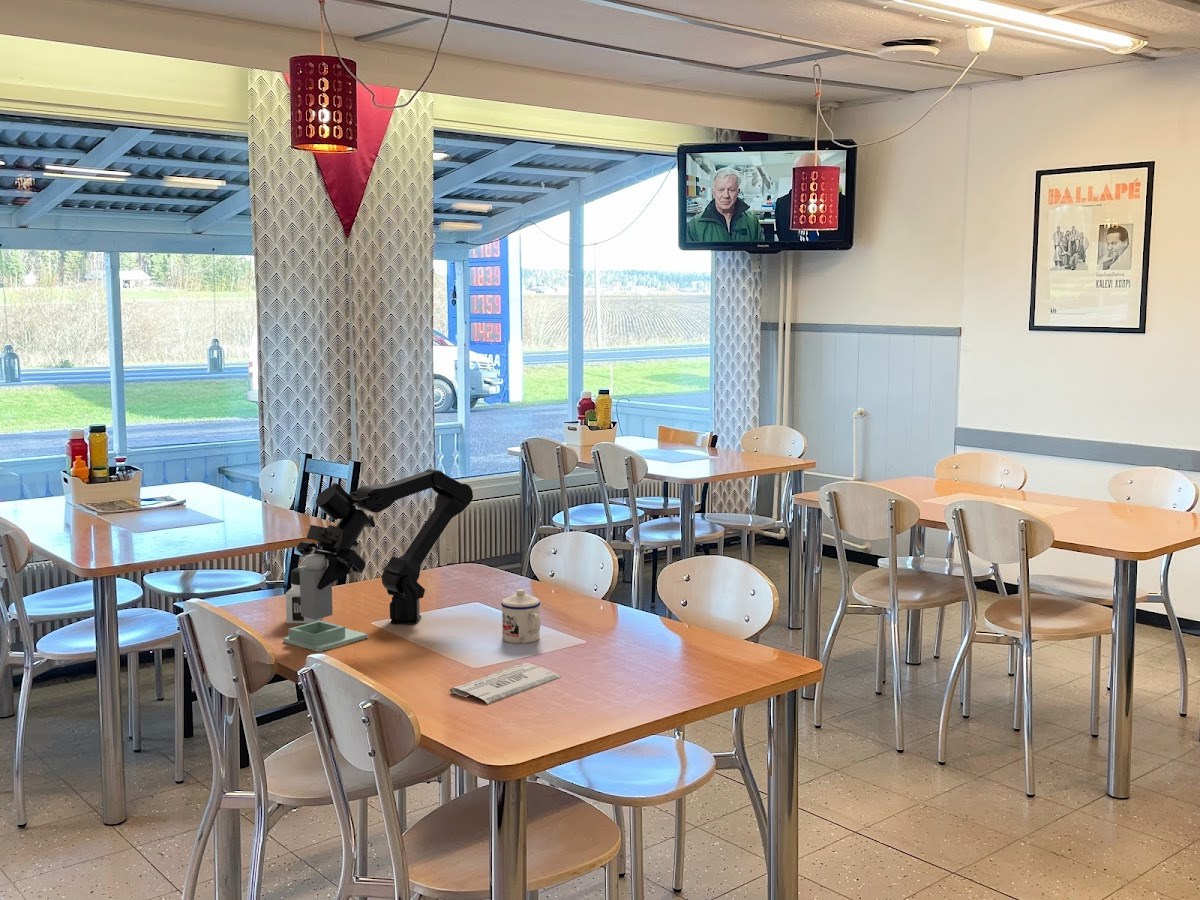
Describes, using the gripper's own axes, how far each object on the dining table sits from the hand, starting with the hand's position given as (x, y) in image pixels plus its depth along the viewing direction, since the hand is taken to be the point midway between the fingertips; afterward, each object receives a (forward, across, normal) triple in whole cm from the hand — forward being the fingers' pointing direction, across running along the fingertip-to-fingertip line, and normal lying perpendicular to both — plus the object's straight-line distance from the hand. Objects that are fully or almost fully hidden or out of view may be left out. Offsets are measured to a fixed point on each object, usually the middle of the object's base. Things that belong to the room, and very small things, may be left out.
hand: (311, 586), depth 264 cm
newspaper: (+7, +54, +14) cm, 56 cm away
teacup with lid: (-13, +36, +32) cm, 50 cm away
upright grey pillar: (+4, 0, +6) cm, 7 cm away
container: (+1, -18, +19) cm, 26 cm away
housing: (+7, 0, +12) cm, 14 cm away
